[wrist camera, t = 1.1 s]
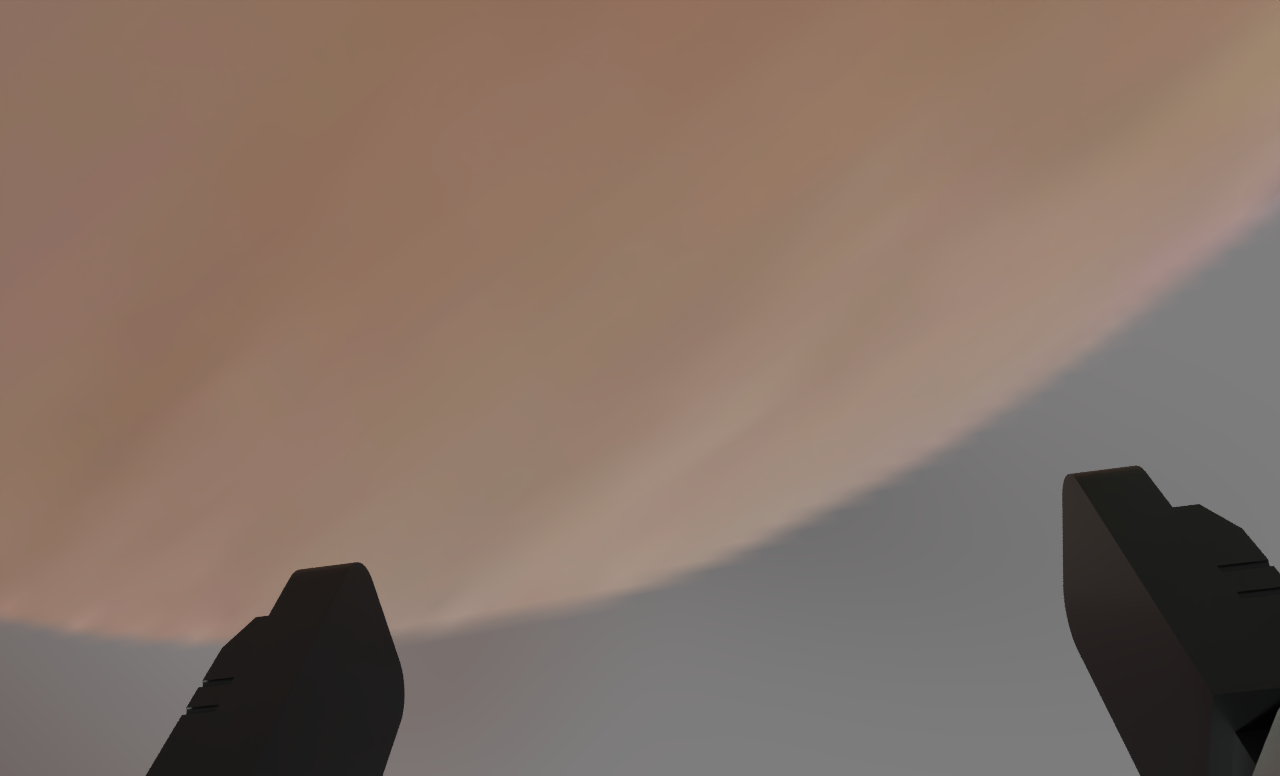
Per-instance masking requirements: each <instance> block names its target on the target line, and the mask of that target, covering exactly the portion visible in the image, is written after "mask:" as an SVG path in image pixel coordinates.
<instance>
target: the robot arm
mask: <svg viewBox="0 0 1280 776" xmlns="http://www.w3.org/2000/svg"><path fill="white" fill-rule="evenodd" d="M1062 497H1063V498H1062V501H1063V502H1062V503H1063V504H1062V505H1063V506H1062V507H1063V590H1064V602H1065V608H1066V614H1067V618H1068V623H1069V627H1070V630H1071V634H1072V637H1073V640H1074V642H1075V645H1076V647H1077V649H1078V651H1079V653H1080V655H1081V657H1082V659H1083V661H1084V663H1085V665H1086V667H1087V669H1088V671H1089V673H1090V675H1091V678H1092V679H1093V682H1094V683H1095V686H1096V687H1097V690H1098V692H1099V694H1100V696H1101V697H1102V700H1103V702H1104V703H1105V706H1106V708H1107V710H1108V712H1109V714H1110V716H1111V718H1112V719H1113V722H1114V723H1115V726H1116V728H1117V730H1118V732H1119V734H1120V736H1121V738H1122V739H1123V742H1124V744H1125V746H1126V748H1127V750H1128V751H1129V754H1130V756H1131V758H1132V760H1133V761H1134V764H1135V766H1136V768H1137V770H1138V772H1139V774H1140V776H1280V573H1279V572H1278V571H1277V570H1276V568H1275V567H1274V566H1269V562H1268V559H1267V558H1266V556H1265V555H1264V554H1263V553H1262V552H1261V550H1260V549H1259V548H1258V547H1257V546H1256V544H1255V543H1254V542H1253V541H1252V540H1251V539H1250V537H1249V536H1248V535H1247V534H1246V533H1245V531H1244V530H1243V529H1242V528H1240V527H1238V526H1236V525H1235V524H1233V523H1231V522H1229V521H1228V520H1226V519H1224V518H1223V517H1221V516H1219V515H1217V514H1215V513H1214V512H1212V511H1210V510H1208V509H1207V508H1205V507H1203V506H1201V505H1200V504H1197V505H1189V506H1181V507H1172V506H1171V505H1170V503H1169V502H1168V501H1167V500H1166V498H1165V497H1164V496H1163V494H1162V493H1161V492H1160V490H1159V489H1158V488H1157V486H1156V485H1155V484H1154V482H1153V481H1152V480H1151V478H1150V477H1149V476H1148V474H1147V473H1146V472H1145V471H1144V470H1143V469H1142V468H1141V467H1139V466H1129V467H1121V468H1113V469H1105V470H1098V471H1090V472H1081V473H1075V474H1068V475H1067V476H1066V477H1065V479H1064V483H1063V493H1062ZM403 708H404V680H403V673H402V668H401V664H400V661H399V658H398V655H397V652H396V649H395V646H394V643H393V640H392V637H391V634H390V631H389V628H388V625H387V622H386V619H385V616H384V613H383V610H382V607H381V605H380V602H379V599H378V596H377V593H376V590H375V587H374V584H373V581H372V578H371V576H370V574H369V572H368V570H367V568H366V567H365V566H364V565H363V564H361V563H359V562H356V563H348V564H340V565H332V566H324V567H316V568H308V569H300V570H297V571H295V572H294V573H293V574H292V576H291V577H290V579H289V580H288V582H287V584H286V586H285V588H284V589H283V591H282V593H281V595H280V597H279V598H278V600H277V602H276V604H275V605H274V607H273V609H272V611H271V613H270V614H269V616H262V617H256V618H255V619H254V620H252V621H251V622H250V623H249V624H248V625H247V626H246V627H245V628H244V629H242V630H241V631H240V632H239V633H238V634H237V635H236V636H235V637H234V638H233V639H231V640H230V641H229V642H228V643H227V644H226V645H225V646H224V647H223V648H222V649H221V651H220V652H219V654H218V656H217V657H216V659H215V661H214V663H213V664H212V666H211V667H210V669H209V671H208V672H207V674H206V676H205V678H204V679H203V687H199V688H198V689H197V691H196V692H195V694H194V696H193V697H192V699H191V701H190V702H189V704H188V706H187V708H186V709H187V714H186V715H182V716H181V718H180V719H179V721H178V723H177V724H176V726H175V728H174V729H173V731H172V733H171V734H170V736H169V738H168V739H167V741H166V743H165V744H164V746H163V748H162V749H161V751H160V753H159V754H158V756H157V758H156V759H155V761H154V763H153V764H152V766H151V768H150V770H149V771H148V773H147V775H146V776H383V773H384V770H385V767H386V764H387V761H388V758H389V755H390V752H391V749H392V746H393V743H394V740H395V737H396V734H397V731H398V728H399V725H400V722H401V719H402V715H403Z"/></svg>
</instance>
